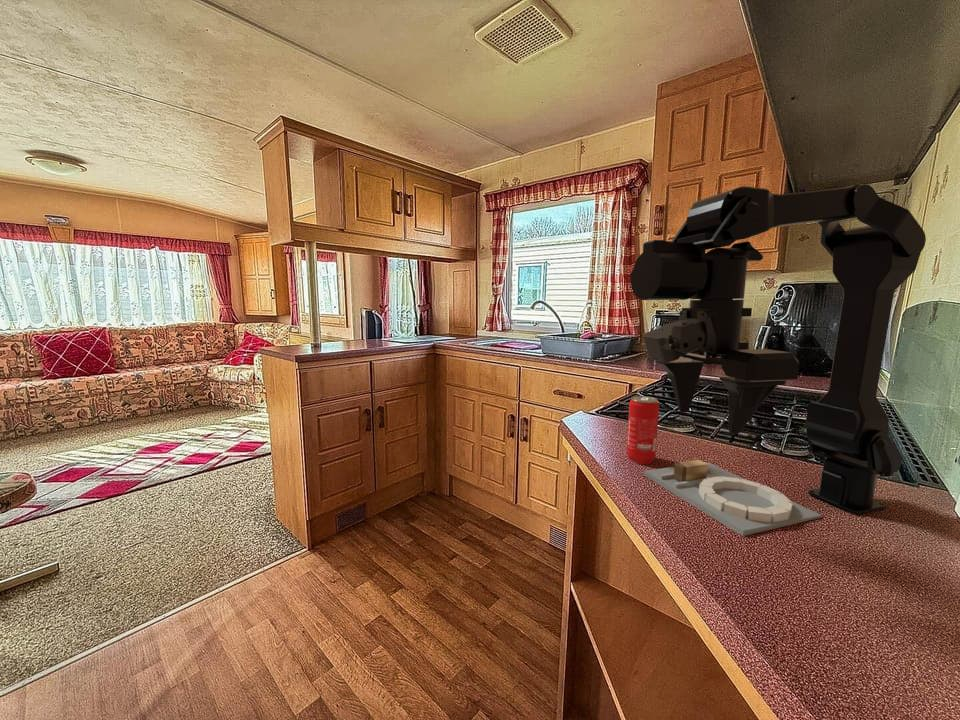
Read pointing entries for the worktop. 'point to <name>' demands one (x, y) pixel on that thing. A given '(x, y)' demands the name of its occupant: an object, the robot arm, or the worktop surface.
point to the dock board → (734, 500)
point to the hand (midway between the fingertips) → (706, 421)
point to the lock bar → (690, 470)
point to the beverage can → (642, 429)
